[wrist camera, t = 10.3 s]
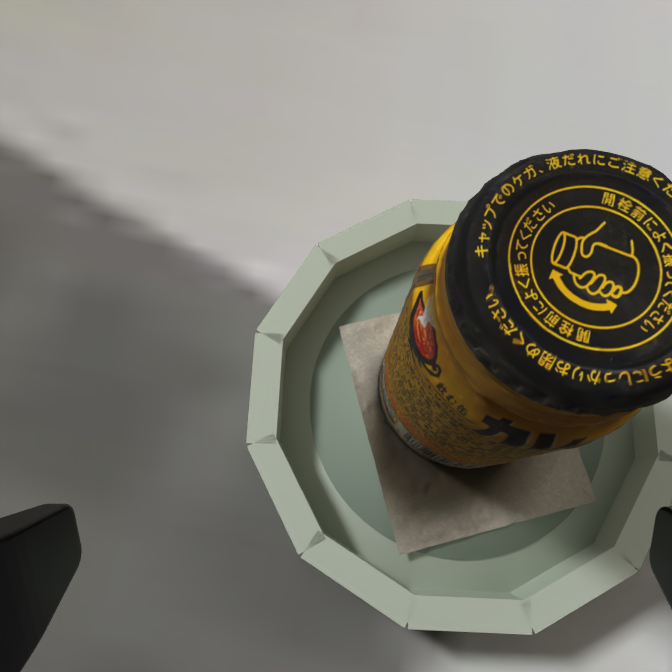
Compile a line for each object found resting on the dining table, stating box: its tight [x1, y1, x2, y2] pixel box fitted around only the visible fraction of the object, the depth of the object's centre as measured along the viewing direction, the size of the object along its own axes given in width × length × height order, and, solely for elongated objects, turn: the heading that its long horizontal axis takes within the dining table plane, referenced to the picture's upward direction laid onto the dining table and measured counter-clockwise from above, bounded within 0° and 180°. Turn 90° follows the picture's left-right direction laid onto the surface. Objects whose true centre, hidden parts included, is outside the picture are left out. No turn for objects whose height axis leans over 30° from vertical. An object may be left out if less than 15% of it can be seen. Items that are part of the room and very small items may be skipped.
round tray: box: [246, 199, 672, 635], centre depth 22 cm, size 15×15×2 cm
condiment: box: [339, 149, 672, 555], centre depth 16 cm, size 7×8×12 cm
